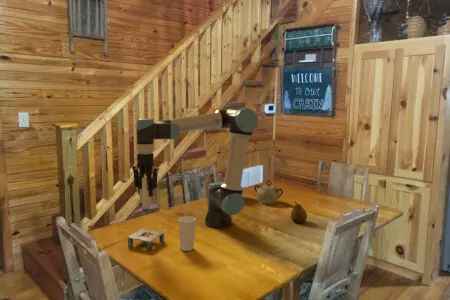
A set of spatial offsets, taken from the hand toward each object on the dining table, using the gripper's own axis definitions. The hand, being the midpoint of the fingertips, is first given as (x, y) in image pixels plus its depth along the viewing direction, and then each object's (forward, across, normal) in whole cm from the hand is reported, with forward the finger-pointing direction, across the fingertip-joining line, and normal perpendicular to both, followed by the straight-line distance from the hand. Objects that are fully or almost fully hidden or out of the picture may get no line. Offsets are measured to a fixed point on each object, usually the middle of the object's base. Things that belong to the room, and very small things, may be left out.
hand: (145, 202), depth 171 cm
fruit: (+20, -60, -62) cm, 89 cm away
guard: (+20, 0, 0) cm, 20 cm away
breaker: (+18, 0, 0) cm, 18 cm away
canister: (+20, -5, -90) cm, 92 cm away
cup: (+20, -20, -3) cm, 29 cm away
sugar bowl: (+20, -34, -91) cm, 99 cm away
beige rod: (+4, 0, 0) cm, 4 cm away
